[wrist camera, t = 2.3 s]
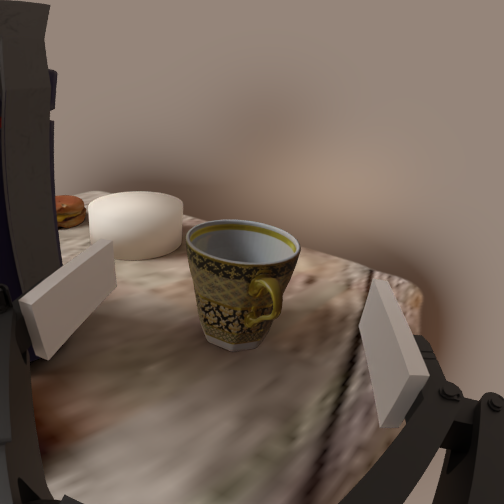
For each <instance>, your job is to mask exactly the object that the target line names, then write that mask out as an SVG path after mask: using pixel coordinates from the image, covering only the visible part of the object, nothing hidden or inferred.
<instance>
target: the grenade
mask: <svg viewBox="0 0 504 504" xmlns="http://www.w3.org/2000/svg"><path fill="white" fill-rule="evenodd" d="M49 10H50V5H47V4H40V3H32V2H23V1H11V0H0V284H5V285H7V286H8V289H9V292H10V296H11V300H12V302H13V301H14V300H16V299H17V298H18V297H19V296H20V295H22V294H23V293H24V292H26V291H27V290H29V288H31V287H32V286H34V285H35V284H36V283H37V282H38V281H40V280H41V279H43V278H46V277H48V276H50V275H51V274H53V273H54V272H55V271H57V270H58V269H59V268H61V267H62V266H63V264H62V257H61V250H60V242H59V233H58V224H57V213H56V199H55V183H54V121H51V120H50V111H51V110H53V109H55V97H56V84H57V72H56V71H54V70H50V69H48V65H47V58H46V50H45V42H44V38H45V32H46V26H47V20H48V15H49ZM27 350H28V352H29V356H30V362H31V361H34V360H37V359H39V358H41V357H39V356H37V355H36V354H35V351H34V349H33V346H32V345H31V346H30V347H29V348H28V349H27Z"/></svg>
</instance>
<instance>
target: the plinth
mask: <svg viewBox="0 0 504 504" xmlns="http://www.w3.org/2000/svg"><path fill="white" fill-rule="evenodd" d="M88 212H89V228H90V241H91V245H93V244H94V243H95V242H97V241H98V240H100V239H106V240H113V251H114V259H119V260H145V259H152V258H157V257H160V256H164V255H166V254H169V253H171V252H173V251H174V250H176V249H177V248H178V247H179V246H180V245H181V242H182V219H183V202H182V201H181V200H180V199H178V198H176V197H174V196H171V195H167V194H163V193H156V192H140V191H139V192H122V193H115V194H110V195H106V196H103V197H100V198H97V199H95V200H94V201H92V202H91V203H90V204H89V206H88Z"/></svg>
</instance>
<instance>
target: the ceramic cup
mask: <svg viewBox="0 0 504 504" xmlns="http://www.w3.org/2000/svg"><path fill="white" fill-rule="evenodd" d="M186 247H187V255H188V262H189V268H190V272H191V275H192V279H193V283H194V289H195V295H196V301H197V307H198V314H199V319H200V324H201V327H202V329H203V332H204V334H205V337H206V339H207V340H208V342H210V343H212V344H214V345H217V346H219V347H222V348H224V349H227V350H229V351H232V352H235V351H241V350H248V349H254V348H257V346H258V345H259V344H260V343H261V341H262V340H263V339H264V337H265V336H266V334H267V333H268V331H269V329H270V326H271V324H272V322H273V319H275V318H277V317H278V316H279V315H280V313H281V309H282V301H283V297H282V296H283V293H284V291H285V289H286V287H287V285H288V283H289V281H290V279H291V276H292V274H293V271H294V269H295V266H296V264H297V260H298V257H299V254H300V251H301V247H300V244H299V242H298V241H297V240H296V238H294V237H293V236H292V235H290V234H289V233H287V232H285V231H284V230H281V229H279V228H276V227H273V226H270V225H267V224H263V223H258V222H252V221H245V220H216V221H210V222H205V223H202V224H199V225H197V226H195V227H193V228H192V229H190V230H189V231H188V233H187V235H186Z"/></svg>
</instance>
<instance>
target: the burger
mask: <svg viewBox="0 0 504 504" xmlns="http://www.w3.org/2000/svg"><path fill="white" fill-rule="evenodd" d="M55 199H56V213H57V224H58V227H59V226H61V227H64V228H70V227H74V226H76V225H78V224H81V223H82V222H83V221H84V219H85V214H86V208H85V207H84V202H83V201H82V199H80V198H78V197H75V196H69V195H62V196H55Z"/></svg>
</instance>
